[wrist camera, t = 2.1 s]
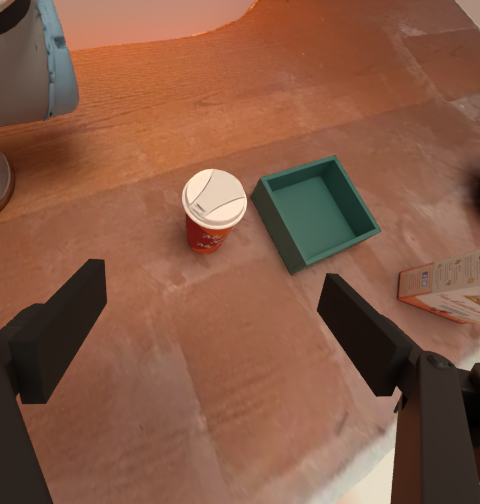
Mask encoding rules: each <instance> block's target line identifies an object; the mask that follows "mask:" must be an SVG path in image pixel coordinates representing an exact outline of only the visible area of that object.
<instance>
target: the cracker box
mask: <svg viewBox="0 0 480 504" xmlns="http://www.w3.org/2000/svg"><path fill="white" fill-rule="evenodd" d="M398 300H401V301H403V302H406V303H409V304H411V305H414V306H417V307H419V308H422V309H425V310H427V311H430V312H433V313H435V314H438V315H441V316H443V317H446V318H448V319H451V320H454V321H456V322H459V323H462V324H468V323H480V249H478V250H474V251H471V252H468V253H464V254H461V255H457V256H454V257H450V258H447V259H443V260H440V261H437V262H433V263H430V264H426V265H423V266H419V267H416V268H413V269H409V270H406V271H402V272H400V281H399V293H398Z"/></svg>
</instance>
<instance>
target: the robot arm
mask: <svg viewBox="0 0 480 504" xmlns="http://www.w3.org/2000/svg"><path fill="white" fill-rule="evenodd" d="M65 42H66V41H65V38H64V35H63V31H62V27H61V24H60V20H59V18H58V15H57V12H56V9H55V6H54V3H53V1H52V0H0V127H3V126H9V125H15V124H22V123H28V122H34V121H41V120H43V121H45V120H49V119H50V118H51V117H55V116H60V115H64V114H68V113H71V112H73V111H74V110H75V109H76V108H77V106H78V104H79V91H78V85H77V81H76V76H75V72H74V68H73V64H72V60H71V57H70V54H69V50H68V48H67V46H66V44H65ZM14 185H15V174H14V170H13V168H12V165H11V163H10V162H9V160H8V159H7V158H6V157H5V156H4V155H3V153H2V152H1V151H0V210H1V209H2V208H3V207H4V206H5V205H6V203H7V202H8V201H9V199H10V197H11V195H12V193H13V190H14ZM106 304H107V295H106V278H105V261H104V260H101V259H89V260H88V261H87V262H86V263H85V264H84V265H83V266H82V267H81V268H80V269H79V270H78V271H77V272H76V273H75V274H74V275H73V276H72V277H71V278H70V279H69V280H68V281H67V282H66V283H65V284H64V285H63V286H62V287H61V288H60V289H59V290H58V291H57V292H56V293H55V294H54V295H53V296H52V297H51V298H50V299H49V300H48V301H47V302H46V303H45V304H37V303H35V304H33V305H31V306H29V307H27V308H25V309H23V310H22V311H21V312H19V313H18V314H17V315H16V316H15V317H14V319H12V320H11V321H10V322H9V323H7V324H6V326H4V327H3V328H2V329H1V330H0V504H53V501H52V498H51V496H50V493H49V490H48V487H47V484H46V482H45V479H44V476H43V473H42V471H41V468H40V465H39V462H38V459H37V457H36V454H35V451H34V448H33V446H32V443H31V440H30V437H29V434H28V432H27V429H26V426H25V423H24V421H23V418H22V415H21V412H20V409H19V407H18V404H17V401H16V398H15V397H16V396H17V395H18V393H20V397H21V402H22V404H46V403H47V401H48V400H49V398H50V396H51V395H52V393H53V391H54V390H55V388H56V386H57V385H58V383H59V381H60V380H61V378H62V376H63V375H64V373H65V371H66V370H67V368H68V366H69V365H70V363H71V361H72V360H73V358H74V357H75V355H76V353H77V352H78V350H79V348H80V347H81V345H82V343H83V342H84V340H85V338H86V337H87V335H88V333H89V332H90V330H91V328H92V327H93V325H94V323H95V322H96V320H97V319H98V317H99V315H100V314H101V312H102V310H103V309H104V307H105V305H106ZM317 312H318V313H319V315H320V316H321V317H322V319H323V320H324V322H325V323H326V325H327V326H328V328H329V329H330V330H331V332H332V333H333V335H334V336H335V338H336V339H337V341H338V342H339V344H340V345H341V346H342V348H343V349H344V351H345V352H346V354H347V355H348V357H349V358H350V360H351V361H352V362H353V364H354V365H355V367H356V368H357V370H358V371H359V373H360V374H361V376H362V377H363V378H364V380H365V381H366V383H367V384H368V386H369V387H370V389H371V390H372V392H373V393H374V394H375V396H376V397H379V396H392V394H393V392H394V389H395V387H396V386H397V387H398V388H399V389H400V391H401V392H402V394H401V396H400V399H399V401H398V403H397V405H396V407H395V410H394V413H397V411H398V420H397V432H396V444H395V457H394V469H393V480H392V492H391V504H480V483H479V482H480V363H475V364H474V366H473V368H472V369H471V371H467V370H463V369H459V368H456V367H455V365H454V364H453V363H452V362H451V361H449V360H448V359H447V358H445V357H443V356H441V355H439V354H437V353H434V352H431V351H424V350H423V349H421V348H420V347H419V346H418V345H417V344H416V343H415V342H414V341H413V340H412V339H411V338H410V337H409V336H408V335H406V334H404V332H403V331H402V330H401V329H400V328H399V327H398V326H397V325H396V324H395V323H394V322H392V321H391V320H390V319H388V318H386V317H385V316H383V315H380V314H379V313H378V312H377V311H376V310H375V309H374V308H373V307H372V306H371V305H370V304H369V303H368V302H367V301H366V300H365V299H363V298H362V297H361V296H360V295H359V294H358V293H357V292H356V291H355V290H354V289H353V288H352V287H351V286H350V285H349V284H348V283H347V282H346V281H345V280H344V279H343V278H342V277H340V276H339V275H338V274H331V273H327V274H326V277H325V281H324V285H323V289H322V292H321V296H320V300H319V304H318V307H317Z"/></svg>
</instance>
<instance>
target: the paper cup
mask: <svg viewBox="0 0 480 504" xmlns="http://www.w3.org/2000/svg"><path fill="white" fill-rule="evenodd" d="M182 202H183V206H184V209H185V211H186V228H187V239H188V243H189V245H190V246H191V248H192V249H193V250H195V251H196V252H198V253H202V254H209V253H212V252H214V251H216V250H217V249H218V248H219V247H220V245H221V244H222V242H223V241H224V240H225V238H226V237H227V235H228V234H229V232H230V230H231V229H232V227H233V226H234V225H235V224H236V223H237V222H239V221H240V219H241V218H242V217H243V215H244V213H245V211H246V206H247V200H246V195H245V192H244V190H243V187H242V185H241V183H240V182H239V180H238V179H236V178H235V177H234V176H233V175H231V174H229V173H227V172H225V171H221V170H216V169H207V170H203V171H201V172H199V173H197V174H196V175H194V176H193V177H192V178H191V179H190V180H189V181H188V182H187V184H186V185H185V187H184V190H183V194H182Z"/></svg>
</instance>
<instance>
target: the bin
mask: <svg viewBox="0 0 480 504" xmlns="http://www.w3.org/2000/svg"><path fill="white" fill-rule="evenodd" d="M251 198H252V200H253V202H254V204H255V206H256V208H257V210H258V212H259V214H260V216H261V218H262V220H263V222H264V223H265V225H266V227H267V229H268V231H269V233H270V235H271V237H272V239H273V241H274V243H275V245H276V247H277V249H278V251H279V253H280V255H281V257H282V258H283V260H284V262H285V264H286V266H287V268H288V270H289V272H290V274H291V275H292V274H294V273H296V272H299V271H301V270H303V269H305V268H307V267H309V266H312V265H314V264H316V263H318V262H320V261H322V260H324V259H327V258H329V257H331V256H333V255H335V254H337V253H340V252H342V251H344V250H346V249H348V248H350V247H352V246H355V245H357V244H359V243H361V242H363V241H364V240H366V239H368V238H370V237H372V236H374V235H376V234H377V233H379V232H381V229H380V228H379V226H378V224H377V222H376V221H375V219H374V218H373V216H372V214H371V213H370V211H369V209H368V208H367V206H366V204H365V203H364V201H363V199H362V198H361V196H360V195H359V193H358V191H357V190H356V188H355V186H354V185H353V183H352V181H351V180H350V178H349V176H348V175H347V173H346V172H345V170H344V168H343V167H342V165H341V163H340V162H339V160H338V159H337V157H336V155H333V156H330V157H326V158H323V159H320V160H317V161H313V162H310V163H307V164H304V165H300V166H297V167H294V168H290V169H287V170H284V171H281V172H277V173H274V174H271V175H268V176H264V177H261V178H260V179H259V181H258V183H257V185H256V187H255V189H254V191H253V193H252V195H251Z"/></svg>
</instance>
